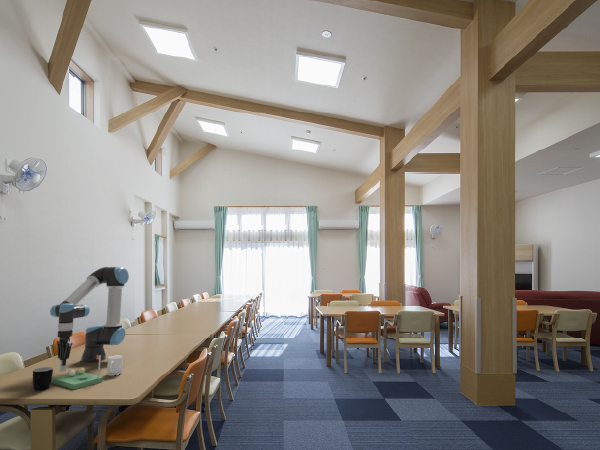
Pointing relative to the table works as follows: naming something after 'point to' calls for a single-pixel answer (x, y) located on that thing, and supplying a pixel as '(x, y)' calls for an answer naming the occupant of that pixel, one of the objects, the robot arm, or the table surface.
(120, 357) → the cup
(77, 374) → the green
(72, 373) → the ball
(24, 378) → the table surface
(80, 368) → the yellow ball
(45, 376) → the mug
